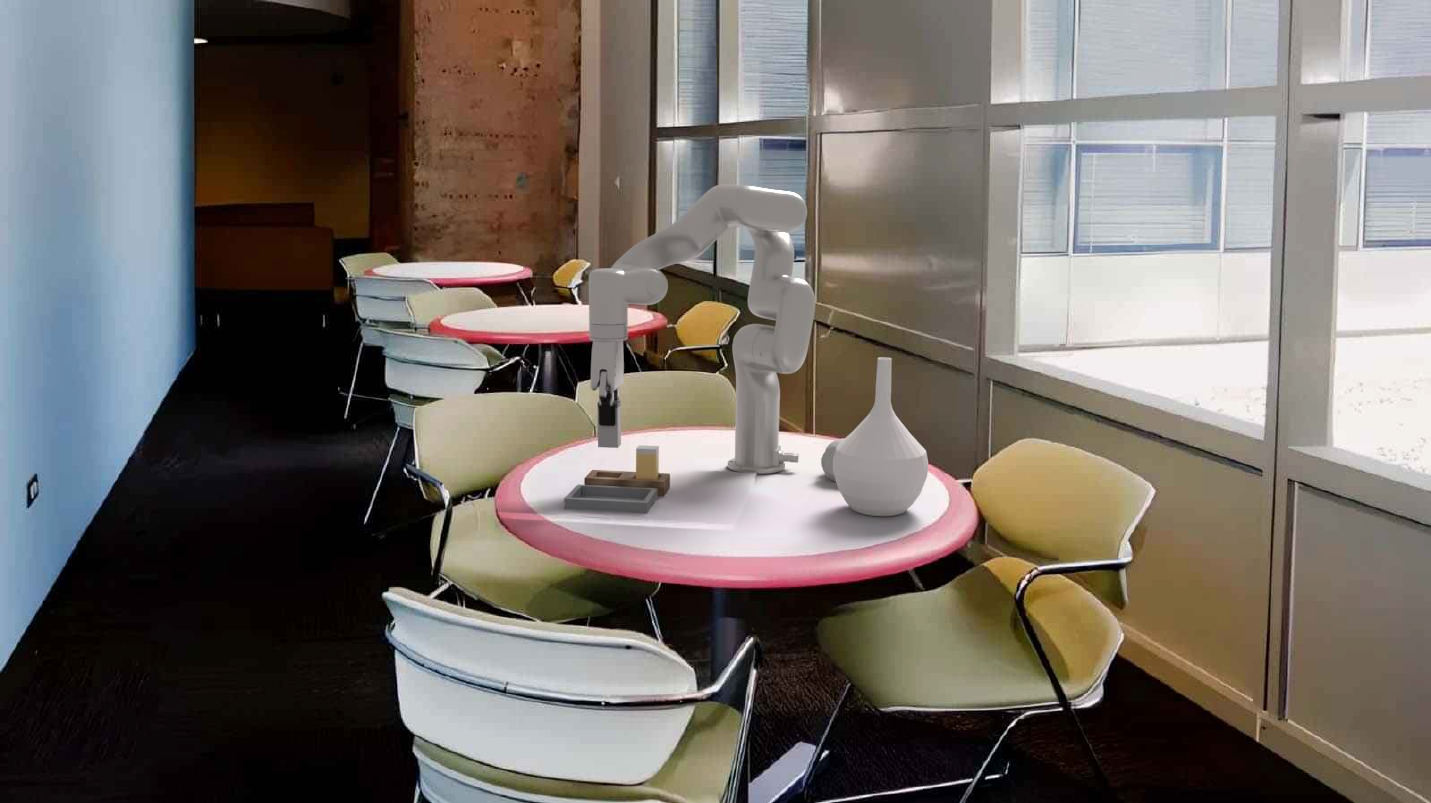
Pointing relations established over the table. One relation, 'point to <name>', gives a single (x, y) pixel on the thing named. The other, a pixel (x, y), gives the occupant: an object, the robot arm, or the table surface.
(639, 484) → the block
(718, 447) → the table surface
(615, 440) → the block
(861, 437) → the vase
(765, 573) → the table surface
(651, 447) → the block
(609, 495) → the parts tray
